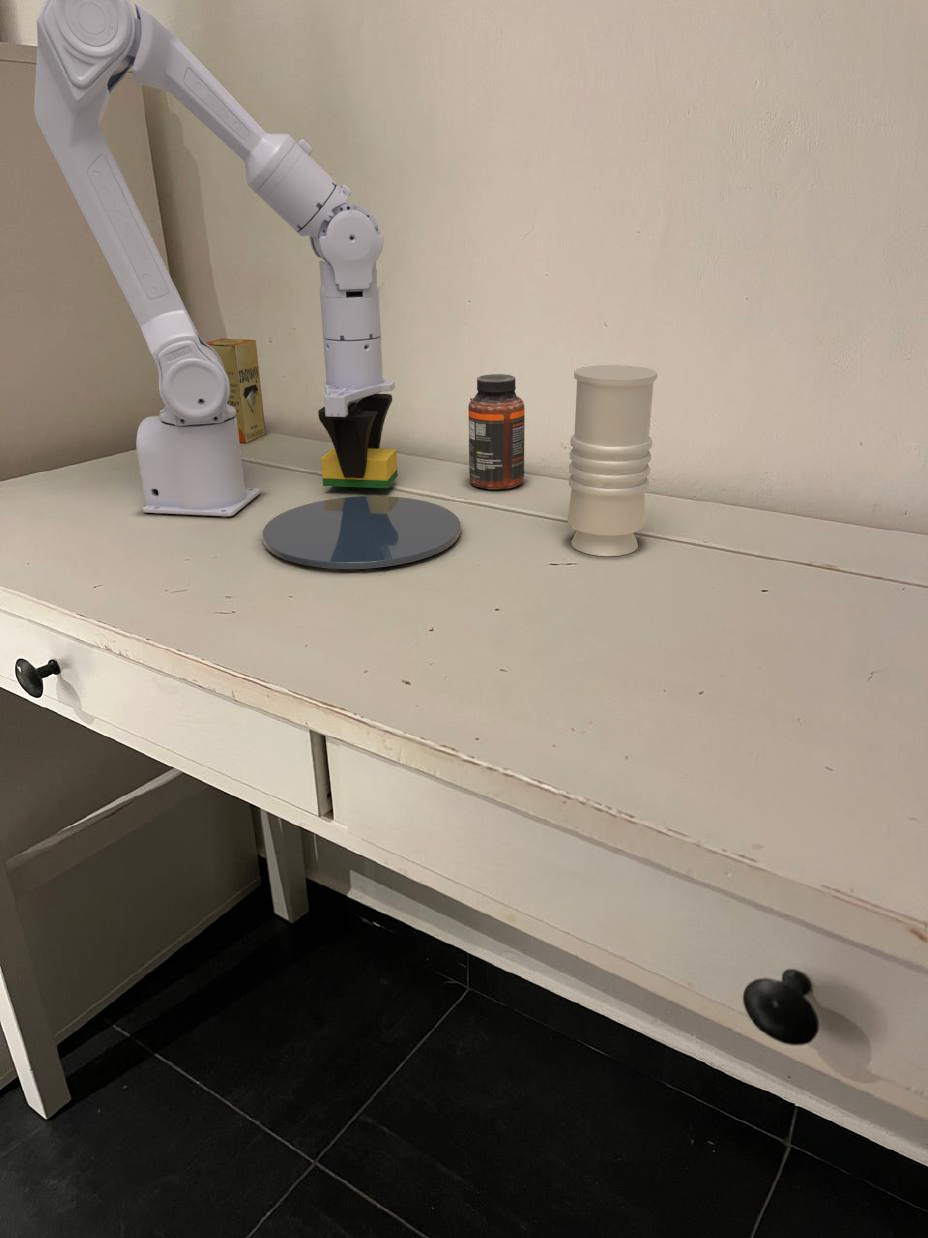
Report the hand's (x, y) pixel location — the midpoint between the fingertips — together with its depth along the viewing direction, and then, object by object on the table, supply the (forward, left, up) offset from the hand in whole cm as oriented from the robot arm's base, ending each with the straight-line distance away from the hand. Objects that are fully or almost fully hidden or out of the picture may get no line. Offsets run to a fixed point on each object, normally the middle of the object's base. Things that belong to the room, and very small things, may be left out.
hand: (360, 470), depth 93 cm
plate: (+4, -14, -2) cm, 15 cm away
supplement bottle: (+14, +4, -2) cm, 15 cm away
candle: (+26, -13, -2) cm, 29 cm away
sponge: (0, 0, -1) cm, 1 cm away
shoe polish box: (-22, +20, -2) cm, 30 cm away
